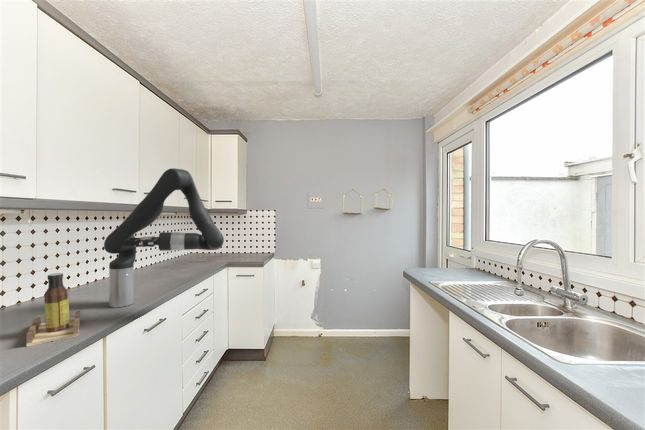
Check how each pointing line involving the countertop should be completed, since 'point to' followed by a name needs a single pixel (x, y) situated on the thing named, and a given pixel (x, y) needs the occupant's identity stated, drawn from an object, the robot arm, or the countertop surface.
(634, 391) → the countertop surface
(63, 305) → the sauce bottle
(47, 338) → the track
